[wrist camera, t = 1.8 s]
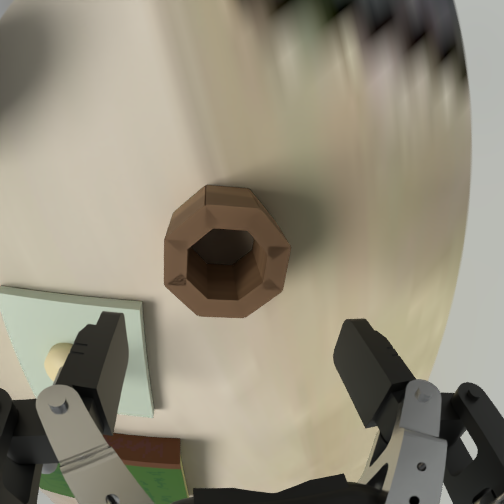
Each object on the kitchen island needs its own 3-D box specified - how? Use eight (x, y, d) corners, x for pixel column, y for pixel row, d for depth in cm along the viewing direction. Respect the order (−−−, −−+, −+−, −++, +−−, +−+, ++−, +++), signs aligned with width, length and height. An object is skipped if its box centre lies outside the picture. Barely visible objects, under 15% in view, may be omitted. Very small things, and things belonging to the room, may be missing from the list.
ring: (174, 183, 17) (165, 201, 13) (279, 191, 18) (297, 212, 14) (171, 277, 19) (164, 314, 16) (264, 282, 20) (276, 318, 17)
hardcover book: (180, 434, 27) (179, 464, 24) (190, 492, 35) (191, 513, 32) (-12, 400, 23) (-22, 421, 20) (42, 469, 31) (37, 487, 28)
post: (0, 285, 18) (-74, 383, 8) (142, 301, 20) (108, 444, 10) (39, 390, 22) (7, 481, 13) (154, 409, 24) (147, 518, 15)
